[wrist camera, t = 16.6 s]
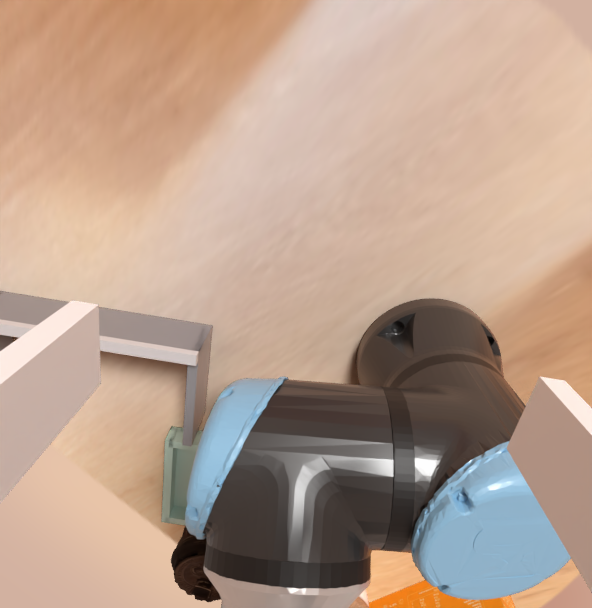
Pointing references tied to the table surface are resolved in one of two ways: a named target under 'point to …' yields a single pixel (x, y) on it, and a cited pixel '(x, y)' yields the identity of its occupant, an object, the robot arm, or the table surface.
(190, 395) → the bay
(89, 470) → the table surface
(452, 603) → the cereal box
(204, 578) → the coffee cup
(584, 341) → the table surface
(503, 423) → the robot arm
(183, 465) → the tray
